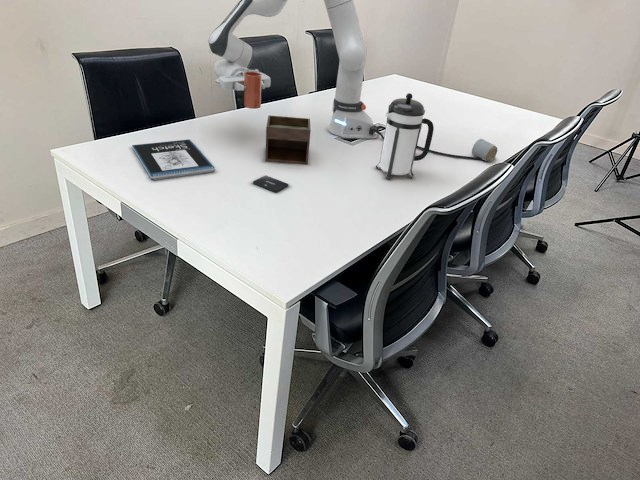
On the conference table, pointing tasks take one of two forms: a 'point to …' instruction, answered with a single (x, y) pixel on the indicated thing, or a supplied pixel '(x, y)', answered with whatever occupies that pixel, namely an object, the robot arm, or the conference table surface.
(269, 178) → the solid state drive
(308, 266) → the conference table surface
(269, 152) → the storage cube
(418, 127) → the coffee press
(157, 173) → the sketchbook
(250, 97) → the tumbler
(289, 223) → the conference table surface
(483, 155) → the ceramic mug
